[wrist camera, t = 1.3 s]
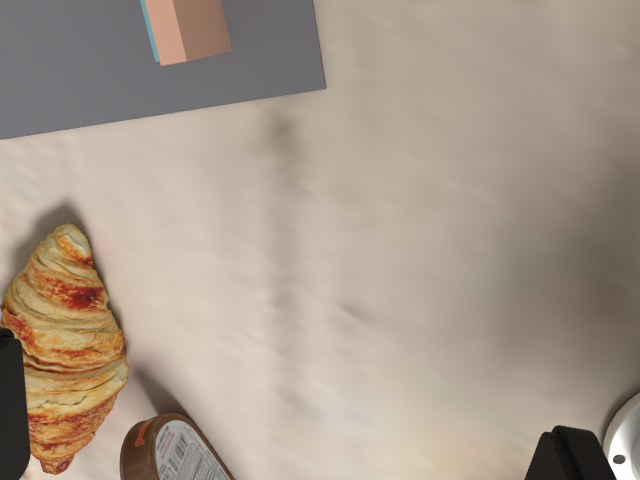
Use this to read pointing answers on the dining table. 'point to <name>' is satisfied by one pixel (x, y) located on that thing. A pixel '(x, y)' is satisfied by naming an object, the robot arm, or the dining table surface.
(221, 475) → the tin
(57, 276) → the croissant
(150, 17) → the tile
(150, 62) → the mat
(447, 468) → the dining table surface
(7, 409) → the robot arm
